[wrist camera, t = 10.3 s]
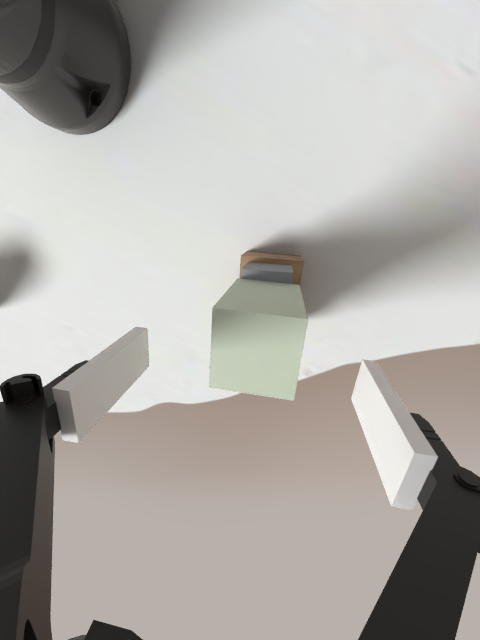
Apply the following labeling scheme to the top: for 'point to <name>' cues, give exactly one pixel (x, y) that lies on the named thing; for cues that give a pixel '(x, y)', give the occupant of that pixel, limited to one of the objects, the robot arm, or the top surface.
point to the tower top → (268, 272)
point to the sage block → (258, 338)
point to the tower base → (275, 262)
